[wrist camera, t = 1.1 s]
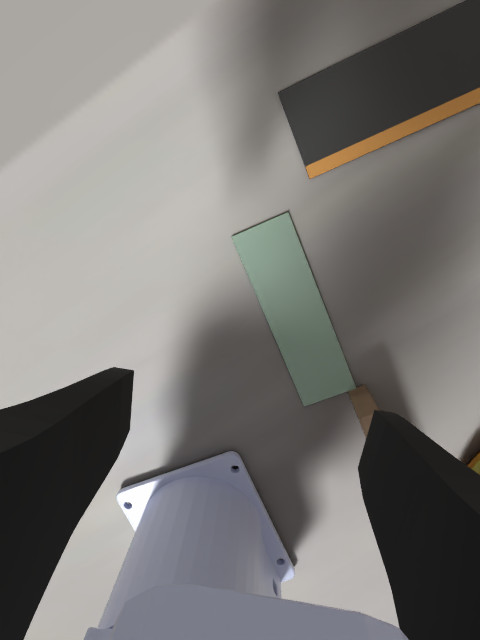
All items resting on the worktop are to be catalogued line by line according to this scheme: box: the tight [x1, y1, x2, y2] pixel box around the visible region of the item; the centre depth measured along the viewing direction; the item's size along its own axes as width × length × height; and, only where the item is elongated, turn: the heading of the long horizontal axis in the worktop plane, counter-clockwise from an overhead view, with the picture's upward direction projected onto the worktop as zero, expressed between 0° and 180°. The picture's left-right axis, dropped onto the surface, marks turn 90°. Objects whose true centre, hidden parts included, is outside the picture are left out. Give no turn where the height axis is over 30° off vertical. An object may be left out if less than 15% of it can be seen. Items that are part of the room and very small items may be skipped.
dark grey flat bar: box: [278, 0, 480, 179], centre depth 18 cm, size 4×12×1 cm, turn 113°
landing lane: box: [232, 212, 356, 407], centre depth 20 cm, size 10×21×1 cm, turn 113°
